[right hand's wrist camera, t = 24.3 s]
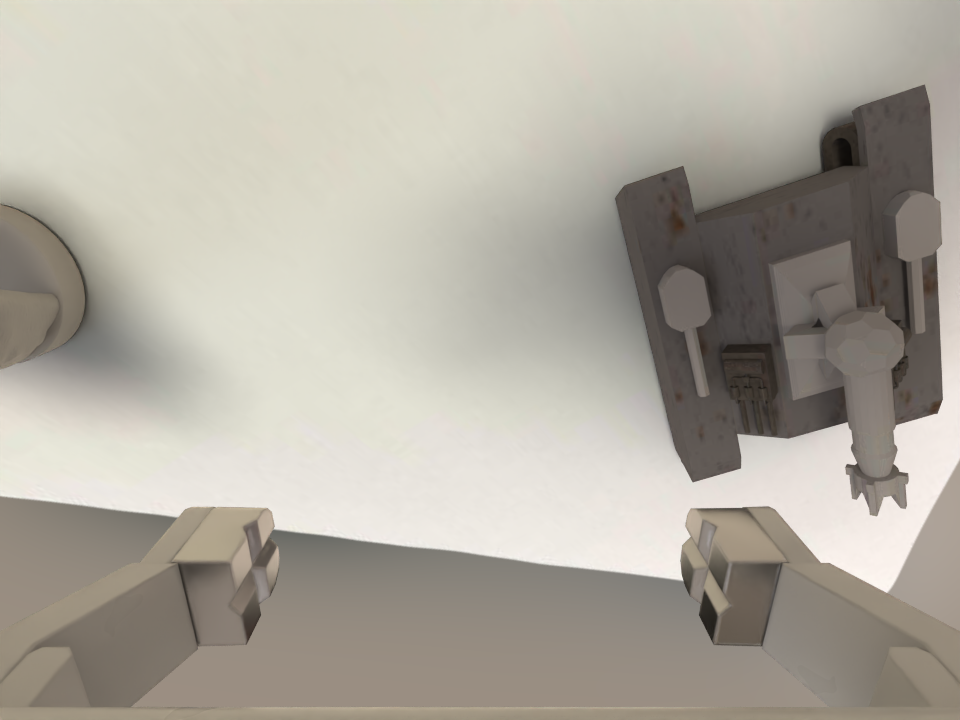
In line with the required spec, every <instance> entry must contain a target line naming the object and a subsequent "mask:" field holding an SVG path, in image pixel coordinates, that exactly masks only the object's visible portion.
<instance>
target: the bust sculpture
mask: <svg viewBox="0 0 960 720" xmlns="http://www.w3.org/2000/svg"><path fill="white" fill-rule="evenodd" d="M84 309H85V292H84V286H83V282H82V278H81V275H80V272H79V270H78V268H77V266H76V264H75V262H74V260H73V258H72V256H71V255H70V253H69V252H68V250H67V249H66V248H65V246H64V245H63V244H62V243H61V241H60V240H59V239H58V238H57V237H56V236H55V235H54V234H53V233H52V232H51V231H50V230H48V229H47V228H46V227H45V226H44V225H42V224H41V223H39V222H38V221H37V220H35V219H33V218H32V217H30V216H28V215H27V214H25V213H23V212H20V211H18V210H16V209H13V208H10V207H7V206H4V205H0V369H3V368H6V367H9V366H11V365H13V364H16V363H21V362H25V361H28V360H31V359H33V358H35V357H37V356H40V355H42V354H44V353H47V352H49V351H51V350H53V349H56V348H58V347H60V346H61V345H63V344H64V343H66V342H67V341H68V340H69V339H70V338H71V337H72V336H73V335H74V333H75V332H76V331H77V329H78V327H79V325H80V323H81V321H82V318H83V314H84Z"/></svg>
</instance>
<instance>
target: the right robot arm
mask: <svg viewBox="0 0 960 720" xmlns="http://www.w3.org/2000/svg"><path fill="white" fill-rule="evenodd" d="M274 527H275V525H274V520H273V515H272V512H271V511H270V510H269V509H268V508H244V507H217V508H216V507H191V508H188V509H185V510H184V511H183V513H182V514H181V515H180V516H179V517H178V518H177V520H176V521H175V522H174V523H173V524H172V525H171V527H170V528H169V529H168V530H167V531H166V532H165V534H164V535H163V536H162V537H161V538H160V539H159V540H158V542H157V543H156V544H155V545H154V546H153V547H152V549H151V550H150V551H149V552H148V553H147V555H146V556H145V557H144V558H143V559H142V560H141V561H140V563H130V564H128V565H126V566H124V567H122V568H120V569H118V570H116V571H115V572H113V573H111V574H109V575H107V576H105V577H103V578H101V579H99V580H97V581H95V582H93V583H92V584H90V585H88V586H86V587H84V588H82V589H80V590H78V591H76V592H74V593H72V594H70V595H69V596H67V597H65V598H63V599H61V600H59V601H57V602H55V603H53V604H51V605H49V606H47V607H45V608H44V609H42V610H40V611H38V612H36V613H34V614H32V615H30V616H28V617H26V618H24V619H22V620H21V621H19V622H17V623H15V624H13V625H11V626H9V627H7V628H5V629H3V630H1V631H0V720H960V631H958V630H956V629H954V628H952V627H951V626H949V625H947V624H945V623H943V622H941V621H939V620H937V619H935V618H933V617H932V616H930V615H928V614H926V613H924V612H922V611H920V610H918V609H916V608H914V607H912V606H910V605H909V604H907V603H905V602H903V601H901V600H899V599H897V598H895V597H893V596H891V595H889V594H888V593H886V592H884V591H882V590H880V589H878V588H876V587H874V586H872V585H870V584H868V583H866V582H865V581H863V580H861V579H859V578H857V577H855V576H853V575H851V574H849V573H847V572H845V571H844V570H842V569H840V568H838V567H836V566H834V565H832V564H830V563H820V561H819V560H818V559H817V558H816V557H815V556H814V554H813V553H812V552H811V551H810V550H809V549H808V547H807V546H806V545H805V544H804V543H803V542H802V540H801V539H800V538H799V537H798V536H797V535H796V534H795V532H794V531H793V530H792V529H791V528H790V527H789V525H788V524H787V523H786V522H785V521H784V520H783V518H782V517H781V516H780V515H779V514H778V513H777V511H776V510H775V509H773V508H771V507H743V508H700V509H690V511H689V513H688V515H687V520H686V525H685V527H686V529H687V530H688V532H689V534H690V536H691V537H690V538H689V539H688V540H687V541H686V542H685V543H684V544H683V545H682V552H681V570H682V577H683V580H684V584H685V587H686V589H687V591H688V593H689V595H690V597H692V598H693V599H695V600H696V601H697V602H699V603H700V604H701V606H700V612H699V616H700V618H701V620H702V622H703V624H704V626H705V628H706V630H707V632H708V634H709V636H710V638H711V640H712V642H713V644H714V645H733V646H762V649H763V650H764V651H765V652H766V653H768V654H769V655H770V656H771V657H772V658H773V659H774V660H776V661H777V662H778V663H779V664H780V665H781V666H783V667H784V668H785V669H786V670H787V671H788V672H790V673H791V674H792V675H793V676H794V677H795V678H797V679H798V680H799V681H800V682H801V683H802V684H803V685H805V686H806V687H807V688H808V689H809V690H810V691H812V692H813V693H814V694H815V695H816V696H817V697H819V698H820V699H821V700H822V701H823V702H824V703H826V704H827V705H828V706H829V707H131V706H132V705H134V704H135V703H136V702H137V701H138V700H139V699H140V698H142V697H143V696H144V695H145V694H146V693H147V692H149V691H150V690H151V689H152V688H153V687H154V686H156V685H157V684H158V683H159V682H160V681H161V680H163V679H164V678H165V677H166V676H167V675H168V674H170V673H171V672H172V671H173V670H174V669H175V668H176V667H178V666H179V665H180V664H181V663H182V662H183V661H185V660H186V659H187V658H188V657H189V656H190V655H191V654H193V653H194V652H195V651H196V650H197V649H198V646H226V645H246V644H247V642H248V640H249V638H250V636H251V634H252V632H253V630H254V628H255V626H256V624H257V622H258V620H259V618H260V616H261V612H260V606H259V604H260V603H261V602H263V601H264V600H265V599H267V598H268V597H270V595H271V593H272V591H273V589H274V586H275V584H276V580H277V575H278V571H279V551H278V545H277V544H276V543H275V542H274V541H273V540H272V539H271V538H270V537H269V536H270V534H271V532H272V530H273V529H274Z"/></svg>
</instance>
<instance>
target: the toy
mask: <svg viewBox="0 0 960 720" xmlns="http://www.w3.org/2000/svg"><path fill="white" fill-rule="evenodd" d="M852 114H853V117H854V122H851V123H849V124H846V125H843V126H840V127H837V128H834V129H832V130H831V131H829V132H828V133H827V134H826V136H825V137H824V140H823V147H822V150H823V159H824V168H825V172H824V173H821V174H818V175H815V176H812V177H809V178H806V179H803V180H800V181H797V182H794V183H791V184H788V185H785V186H782V187H779V188H776V189H773V190H770V191H767V192H764V193H761V194H758V195H755V196H752V197H749V198H746V199H743V200H740V201H737V202H734V203H731V204H728V205H725V206H721V207H718V208H715V209H712V210H709V211H706V212H703V213H700V214H697V215H694V210H693V205H692V199H691V194H690V189H689V184H688V181H687V178H686V174H685V171H684V167H683V166H682V167H679V168H676V169H673V170H670V171H667V172H664V173H661V174H658V175H655V176H652V177H649V178H646V179H643V180H640V181H637V182H634V183H631V184H628V185H625V186H624V187H623V188H622V190H621V191H620V192H619V194H618V195H617V196H616V198H615V199H616V203H617V207H618V211H619V216H620V220H621V224H622V228H623V232H624V236H625V241H626V245H627V249H628V253H629V257H630V261H631V266H632V270H633V274H634V278H635V282H636V286H637V291H638V295H639V299H640V303H641V307H642V311H643V315H644V320H645V324H646V328H647V332H648V336H649V340H650V345H651V349H652V353H653V357H654V361H655V365H656V370H657V374H658V378H659V382H660V386H661V390H662V395H663V399H664V403H665V407H666V411H667V415H668V420H669V424H670V428H671V432H672V436H673V440H674V444H675V448H676V451H677V453H678V455H679V457H680V459H681V462H682V463H683V465H684V466H685V468H686V470H687V472H688V474H689V476H690V478H691V480H692V482H696V481H699V480H703V479H706V478H709V477H713V476H716V475H720V474H723V473H727V472H730V471H734V470H737V469H740V468H741V453H740V448H739V443H738V437H737V434H745V435H756V436H767V437H778V438H792V437H796V436H799V435H803V434H806V433H810V432H814V431H817V430H821V429H824V428H828V427H832V426H835V425H839V424H842V423H846V422H848V425H849V428H850V429H851V430H852V438H853V444H852V446H851V450H852V453H853V455H854V457H855V459H856V461H857V464H856V465H849V464H847V465H846V467H845V468H846V474H847V475H850V484H851V492H852V499H856V500H857V498H858V497H859V495H860V493H861V492H862V493H863V494H864V497H865V499H866V502H867V504H868V506H869V510H870V515H873V516H877V515H878V512H879V509H880V506H881V503H882V500H883V497H887V496H892V498H893V499H894V500H895V501H896V503H897V504H898V505H899V507H900V508H903V509H906V506H907V501H906V488H905V484H908V481H909V479H908V473H903V472H899V470H898V468H897V467H896V466H895V465H894V464H893V463H894V460H895V456H896V453H897V446H896V445H895V444H894V435H893V430H894V429H895V427H896V425H898V424H901V423H905V422H908V421H912V420H915V419H919V418H922V417H926V416H929V415H933V414H937V413H938V411H939V408H940V405H941V403H942V400H943V394H942V368H941V346H940V323H939V300H938V277H937V254H936V250H937V249H938V248H939V247H940V246H941V244H942V237H941V212H940V202H939V201H938V200H937V199H936V198H934V185H933V162H932V140H931V118H930V103H929V99H928V96H927V92H926V88H925V85H922V86H919V87H916V88H913V89H910V90H907V91H904V92H901V93H898V94H895V95H892V96H889V97H886V98H883V99H880V100H877V101H874V102H871V103H868V104H865V105H862V106H859V107H858V108H856V109H855V110H853V111H852Z"/></svg>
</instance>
